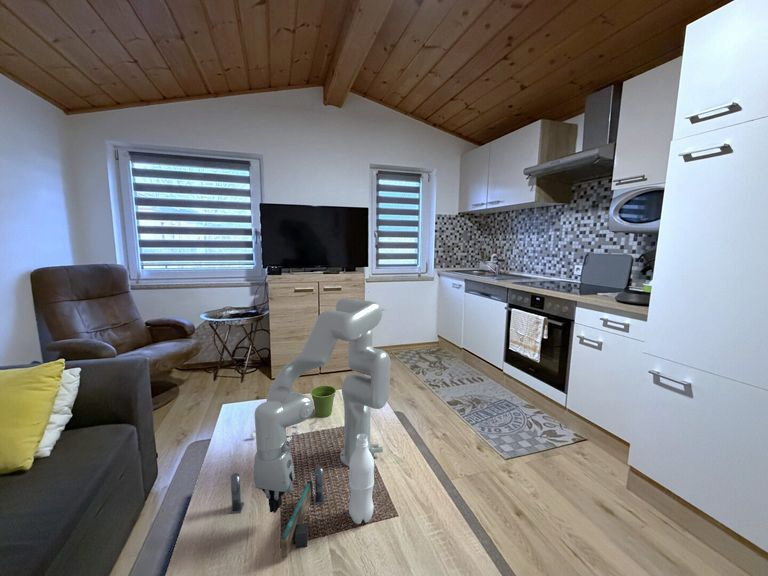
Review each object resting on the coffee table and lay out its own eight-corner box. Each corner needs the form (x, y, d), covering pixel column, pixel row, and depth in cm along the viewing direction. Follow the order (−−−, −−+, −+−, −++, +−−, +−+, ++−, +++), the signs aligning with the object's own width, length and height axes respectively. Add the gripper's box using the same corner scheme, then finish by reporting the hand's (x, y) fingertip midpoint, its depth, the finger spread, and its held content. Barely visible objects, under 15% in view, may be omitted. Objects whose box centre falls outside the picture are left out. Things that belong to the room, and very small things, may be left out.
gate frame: (324, 495, 102) (324, 464, 100) (323, 544, 85) (323, 508, 84) (232, 505, 97) (231, 472, 96) (212, 559, 81) (210, 520, 79)
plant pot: (309, 409, 155) (309, 386, 153) (334, 406, 158) (334, 384, 157) (311, 422, 144) (311, 398, 142) (338, 418, 147) (338, 395, 146)
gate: (308, 496, 100) (308, 478, 100) (313, 496, 100) (313, 479, 99) (281, 556, 81) (280, 535, 80) (287, 557, 81) (286, 536, 80)
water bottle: (360, 503, 99) (361, 426, 96) (378, 515, 95) (380, 435, 91) (343, 517, 94) (343, 437, 90) (361, 532, 89) (362, 447, 86)
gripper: (304, 442, 89) (306, 501, 92) (254, 436, 92) (258, 494, 95) (291, 461, 82) (294, 524, 85) (238, 453, 85) (243, 515, 88)
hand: (275, 508), depth 90 cm, fingers closed
